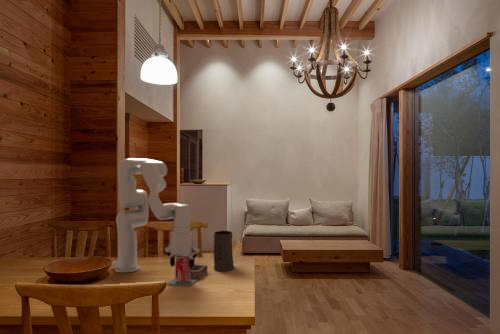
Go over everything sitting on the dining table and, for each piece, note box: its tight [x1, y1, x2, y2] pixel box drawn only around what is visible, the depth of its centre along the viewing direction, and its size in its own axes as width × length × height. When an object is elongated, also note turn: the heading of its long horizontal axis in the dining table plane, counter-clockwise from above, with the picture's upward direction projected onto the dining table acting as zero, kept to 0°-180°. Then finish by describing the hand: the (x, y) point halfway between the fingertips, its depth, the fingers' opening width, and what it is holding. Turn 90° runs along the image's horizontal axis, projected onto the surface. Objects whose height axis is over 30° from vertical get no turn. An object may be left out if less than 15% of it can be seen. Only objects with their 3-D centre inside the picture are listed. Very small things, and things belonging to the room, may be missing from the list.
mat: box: [166, 277, 199, 288], centre depth 175 cm, size 12×10×1 cm
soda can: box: [174, 255, 191, 283], centre depth 175 cm, size 7×7×12 cm
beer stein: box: [213, 230, 235, 273], centre depth 201 cm, size 15×11×20 cm
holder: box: [190, 264, 208, 281], centre depth 187 cm, size 12×12×4 cm
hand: (182, 266), depth 175 cm, fingers open, 9 cm apart
